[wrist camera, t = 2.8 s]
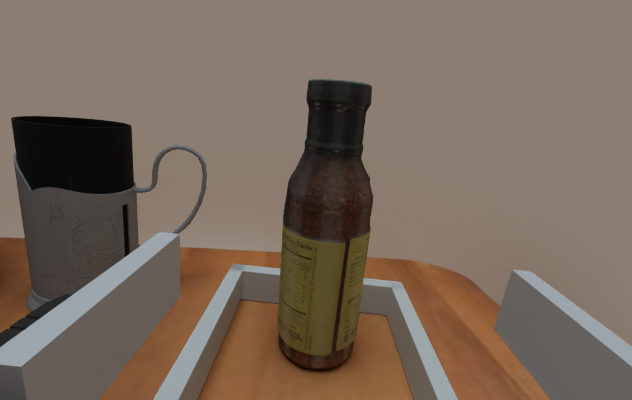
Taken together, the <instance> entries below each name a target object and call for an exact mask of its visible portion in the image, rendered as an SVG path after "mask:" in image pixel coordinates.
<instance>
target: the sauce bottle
mask: <svg viewBox="0 0 632 400" xmlns="http://www.w3.org/2000/svg"><path fill="white" fill-rule="evenodd" d="M371 92H372V87H371V85H369V84H367V83H362V82H356V81H346V80H331V79H311V80H309V82H308V90H307V104H308V106H309V115H308V127H307V139H306V141H305V150H304V153H303V155H302V157H301V159H300V161H299V163H298V165H297V167H296V169H295V171H294V172H293V174H292V175H291V178H290V180H289V183H288V189H287V196H286V202H285V209H284V215H283V233H282V251H281V266H280V287H279V307H278V331H279V344H280V347H281V348H282V350H283V351H284V353H285V354H286V356H287V357H289V358H290V359H291V360H292V361H293V362H295V363H296V364H298V365H300V366H301V367H306V368H314V369H318V368H321V369H326V368H333V367H335V366H338V365H339V364H341V363H342V362H344V361H345V359H346V358H347V357H348V356H349V354H350V352H351V351H352V349H353V343H354V338H355V336H356V331H357V324H358V317H359V309H360V302H361V295H362V287H363V280H364V272H365V265H366V258H367V250H368V243H369V236H370V216H371V209H372V203H373V194H372V190H371V186H370V178H369V176H368V174H367V172H366V170H365V168H364V165H363V163H362V160H361V156H362V151H363V145H362V141H363V135H364V125H365V116H366V111H367V110H368V108H369V106H370V105H371Z"/></svg>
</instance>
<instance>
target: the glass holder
mask: <svg viewBox="0 0 632 400" xmlns="http://www.w3.org/2000/svg"><path fill="white" fill-rule="evenodd" d="M11 120H12V127H13V134H14V141H15V148H16V153H15V154H14V165H15V172H16V179H17V186H18V193H19V200H20V207H21V214H22V221H23V227H24V233H25V241H26V248H27V255H28V262H29V269H30V276H31V283H32V287H31V292H30V294H29V296H28V298H27V307H28V308H29V310H30V311H31V312H32V311H34V310H35V309H37V308H38V307H40V306H41V305H43V304H44V303H46V302H49V301H51V300H53V299H56V298H58V297H60V296H63V295H65V294H75V293H76V292H77V291H79V290H80V289H82V288H83V287H84V286H86V285H87V284H89V283H90V282H91V281H93V280H94V279H95V278H97V277H98V276H100V275H101V274H102V273H104V272H105V271H107V270H108V269H109V268H111V267H112V266H113V265H115V264H116V263H118V262H119V261H120V260H122V259H123V258H125V257H126V256H127V255H129V254H130V253H131V252H133V251H134V250H136V249H137V248H138V247H139V244H138V220H137V194H136V193H142V192H148V191H151V190H152V189H153V188H154V187H155V186H156V184H157V179H158V167H159V163H160V161H161V159H162V157H163V156H164V155H165V154H166V153H168V152H170V151H171V150H175V149H182V150H186V151H189V152H191V153H193V154H194V155H195V156H196V157H198V159H199V161H200V163H201V165H202V172H203V180H202V188H201V193H200V196H199V199H198V202H197V204H196V205H195V207H194V209H193V211H192V213H191V214H190V215H189V217H188V218H187V220H186V221H185V222H184V223H183V224H182V225H181V226H180V227H179V228H177V229H176V230H175V231H174V232H173V234H179V233H180V232H181V231H182V230H184V229H185V228H186V227H187V226H188V225H189V224H190V223H191V221H192V220H193V218H194V217H195V215H196V213H197V211H198V209H199V207H200V205H201V203H202V200H203V197H204V193H205V190H206V178H207V173H206V164H205V162H204V160H203V158H202V156H201V155H200V154H199V153H198V152H196V151H195V150H194V149H192V148H189V147H187V146H182V145H174V146H169V147H167V148H166V149H164V150H162V151H161V152H160V153H159V155H158V156H157V157H156V159H155V162H154V164H153V170H152V184H151V186H150V187H146V188H136V183H135V182H134V177H133V153H132V130H131V125H129V124H125V123H119V122H113V121H104V120H94V119H83V118H67V117H46V116H45V117H44V116H23V117H13V118H11Z"/></svg>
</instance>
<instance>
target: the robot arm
mask: <svg viewBox="0 0 632 400" xmlns="http://www.w3.org/2000/svg"><path fill="white" fill-rule="evenodd" d="M179 239H180V237H179V234H173V233H163V232H159V233H158V234H156V235H155V236H154V237H152V238H151V239H150V240H148V241H147V242H145V243H144V244H143V245H141V246H140V247H138V248H137V249H136V250H134V251H133V252H131V253H130V254H129V255H127V256H126V257H125V258H123V259H122V260H120V261H119V262H118V263H116V264H115V265H113V266H112V267H111V268H109V269H108V270H107V271H105V272H104V273H102V274H101V275H100V276H98V277H97V278H95V279H94V280H93V281H91V282H90V283H89V284H87V285H86V286H84V287H83V288H82V289H80V290H79V291H77V292H76V293H75V294H65V295H63V296H60V297H58V298H56V299H53V300H51V301H49V302H46V303H44V304H43V305H41V306H40V307H38V308H37V309H35V310H34V311H32V312H31V313H29V314H28V315H26V317H25V319H24V318H22V319H20V320H19V321H17V322H16V323H15V324H13V325H12V326H10V329H6V330H4V331H3V332H1V333H0V400H99V399H100V398H101V397H102V395H103V394H104V393H105V392H106V390H107V389H108V388H109V387H110V385H111V384H112V383H113V381H114V380H115V379H116V378H117V376H118V375H119V374H120V372H121V371H122V370H123V369H124V367H125V366H126V365H127V363H128V362H129V361H130V360H131V358H132V357H133V356H134V355H135V353H136V352H137V351H138V349H139V348H140V347H141V346H142V344H143V343H144V342H145V340H146V339H147V338H148V337H149V335H150V334H151V333H152V331H153V330H154V329H155V328H156V326H157V325H158V324H159V323H160V321H161V320H162V319H163V317H164V316H165V315H166V314H167V312H168V311H169V310H170V308H171V307H172V306H173V305H174V303H175V302H176V301H177V299H178V298H179V297H180V240H179ZM494 330H495V331H496V332H497V333H498V335H499V336H500V337H501V338H502V340H503V341H504V342H505V343H506V345H507V346H508V347H509V348H510V350H511V351H512V352H513V353H514V354H515V356H516V357H517V358H518V359H519V361H520V362H521V363H522V364H523V366H524V367H525V368H526V369H527V371H528V372H529V373H530V374H531V376H532V377H533V378H534V379H535V380H536V382H537V383H538V384H539V385H540V387H541V388H542V389H543V390H544V392H545V393H546V394H547V395H548V397H549V398H550V399H551V400H632V346H630V345H629V344H627V343H626V342H625V341H624V340H622V339H621V338H619V337H618V336H617V335H615V334H614V333H613V332H611V331H610V330H609V329H607V328H606V327H604V326H603V325H602V324H601V323H599V322H598V321H597V320H595V319H594V318H593V317H591V316H590V315H588V314H587V313H586V312H585V311H583V310H582V309H580V308H579V307H578V306H576V305H575V304H574V303H572V302H571V301H570V300H568V299H567V298H566V297H564V296H563V295H562V294H560V293H559V292H558V291H556V290H555V289H554V288H552V287H551V286H550V285H548V284H547V283H546V282H544V281H543V280H541V279H540V278H539V277H537V276H536V275H535V274H533V273H532V272H530V271H520V270H512V271H511V274H510V278H509V281H508V284H507V287H506V291H505V294H504V297H503V301H502V304H501V307H500V310H499V314H498V317H497V320H496V324H495V327H494Z"/></svg>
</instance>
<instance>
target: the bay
mask: <svg viewBox="0 0 632 400" xmlns="http://www.w3.org/2000/svg"><path fill="white" fill-rule="evenodd" d="M279 287H280V269H277V268H268V267H259V266H250V265H241V264H233V265H232V266H231V268H230V270H229V271H228V273H227V275H226V276H225V278H224V280H223V282H222V283H221V285H220V287H219V288H218V290H217V292H216V294H215V295H214V297H213V299H212V300H211V302H210V304H209V305H208V307H207V309H206V311H205V312H204V314H203V316H202V317H201V319H200V321H199V323H198V324H197V326H196V328H195V329H194V331H193V333H192V334H191V336H190V338H189V340H188V341H187V343H186V345H185V346H184V348H183V350H182V352H181V353H180V355H179V357H178V358H177V360H176V362H175V363H174V365H173V367H172V369H171V370H170V372H169V374H168V375H167V377H166V379H165V381H164V382H163V384H162V386H161V387H160V389H159V391H158V392H157V394H156V396H155V398H154V399H153V400H198V397H199V395H200V393H201V390H202V388H203V386H204V384H205V381H206V379H207V377H208V374H209V372H210V370H211V367H212V365H213V363H214V360H215V358H216V356H217V353H218V351H219V349H220V346H221V344H222V342H223V339H224V337H225V335H226V332H227V330H228V328H229V325H230V323H231V321H232V319H233V316H234V314H235V312H236V309H237V307H238V305H239V302H240V300H241V299H243V300H252V301H261V302H270V303H279ZM359 312H362V313H372V314H381V315H386V316H387V319H388V322H389V325H390V328H391V331H392V334H393V337H394V340H395V343H396V347H397V350H398V353H399V356H400V359H401V362H402V365H403V368H404V371H405V374H406V377H407V380H408V383H409V386H410V389H411V392H412V395H413V398H414V400H458V399H457V397H456V395H455V393H454V391H453V389H452V387H451V385H450V383H449V380H448V378H447V376H446V374H445V372H444V370H443V368H442V366H441V364H440V362H439V360H438V358H437V355H436V353H435V351H434V349H433V347H432V345H431V343H430V341H429V339H428V337H427V335H426V333H425V331H424V328H423V326H422V324H421V322H420V320H419V318H418V316H417V314H416V312H415V310H414V308H413V306H412V303H411V301H410V299H409V297H408V295H407V293H406V291H405V289H404V287H403V285H402V283H401V282H395V281H386V280H377V279H367V278H364V280H363V287H362V295H361V302H360V309H359Z"/></svg>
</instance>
